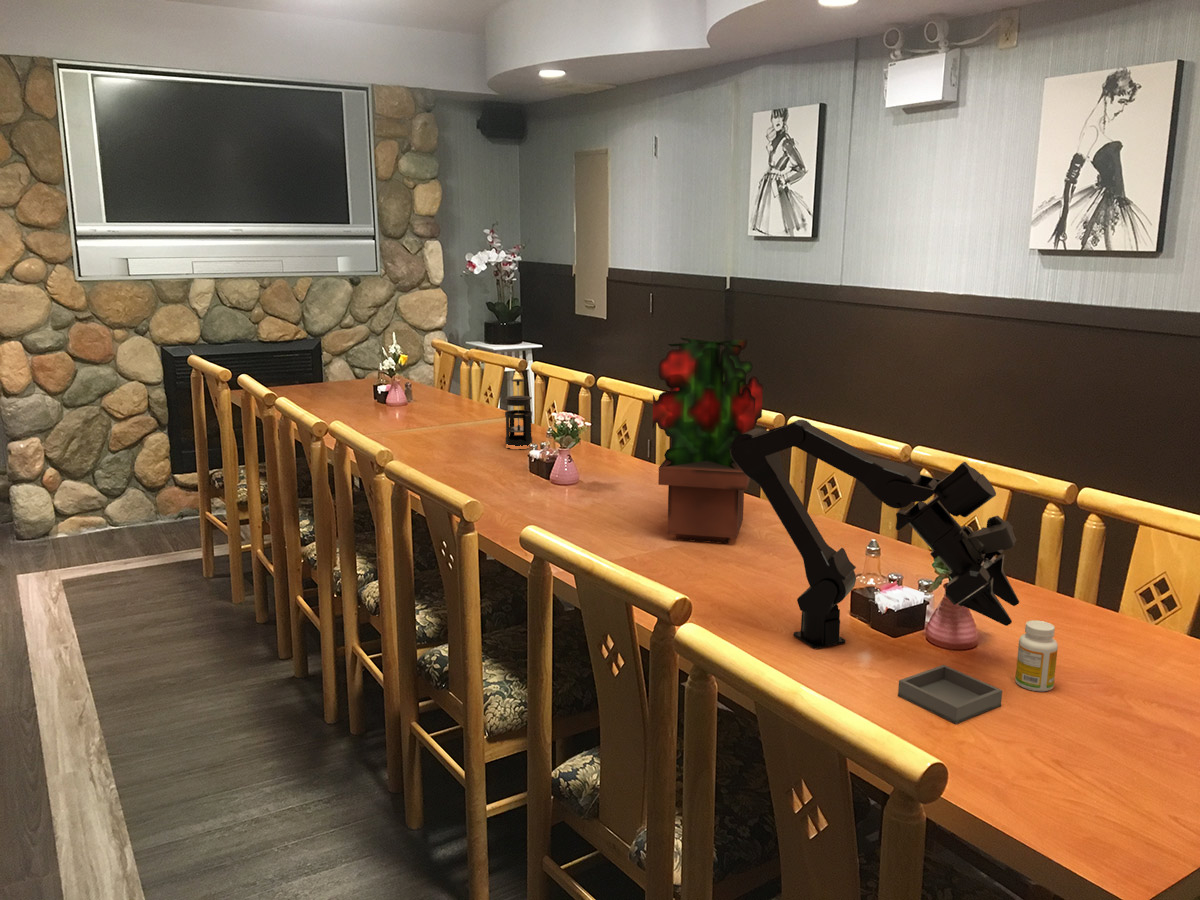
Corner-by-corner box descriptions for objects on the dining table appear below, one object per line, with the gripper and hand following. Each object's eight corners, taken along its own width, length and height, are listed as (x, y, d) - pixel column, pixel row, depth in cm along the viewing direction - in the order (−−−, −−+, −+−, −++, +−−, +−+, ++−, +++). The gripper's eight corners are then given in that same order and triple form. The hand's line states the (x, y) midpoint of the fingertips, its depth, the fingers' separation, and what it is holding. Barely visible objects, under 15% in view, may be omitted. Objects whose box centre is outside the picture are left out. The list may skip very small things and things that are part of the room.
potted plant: (650, 544, 212) (653, 345, 203) (667, 518, 233) (670, 336, 224) (749, 552, 207) (757, 347, 198) (757, 524, 228) (764, 338, 219)
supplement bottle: (1042, 676, 147) (1048, 618, 145) (1060, 692, 142) (1067, 631, 140) (1008, 676, 147) (1014, 618, 145) (1024, 692, 142) (1031, 632, 139)
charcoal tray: (897, 695, 140) (899, 680, 140) (942, 679, 146) (943, 664, 145) (955, 724, 132) (957, 707, 131) (1000, 706, 137) (1002, 690, 137)
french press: (498, 446, 318) (497, 378, 314) (522, 443, 324) (521, 376, 319) (517, 452, 309) (515, 382, 304) (541, 448, 315) (540, 380, 310)
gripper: (975, 518, 135) (1052, 604, 132) (993, 490, 151) (1063, 567, 148) (915, 562, 141) (988, 646, 137) (938, 530, 156) (1004, 605, 153)
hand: (1013, 613), depth 144 cm, fingers open, 9 cm apart
